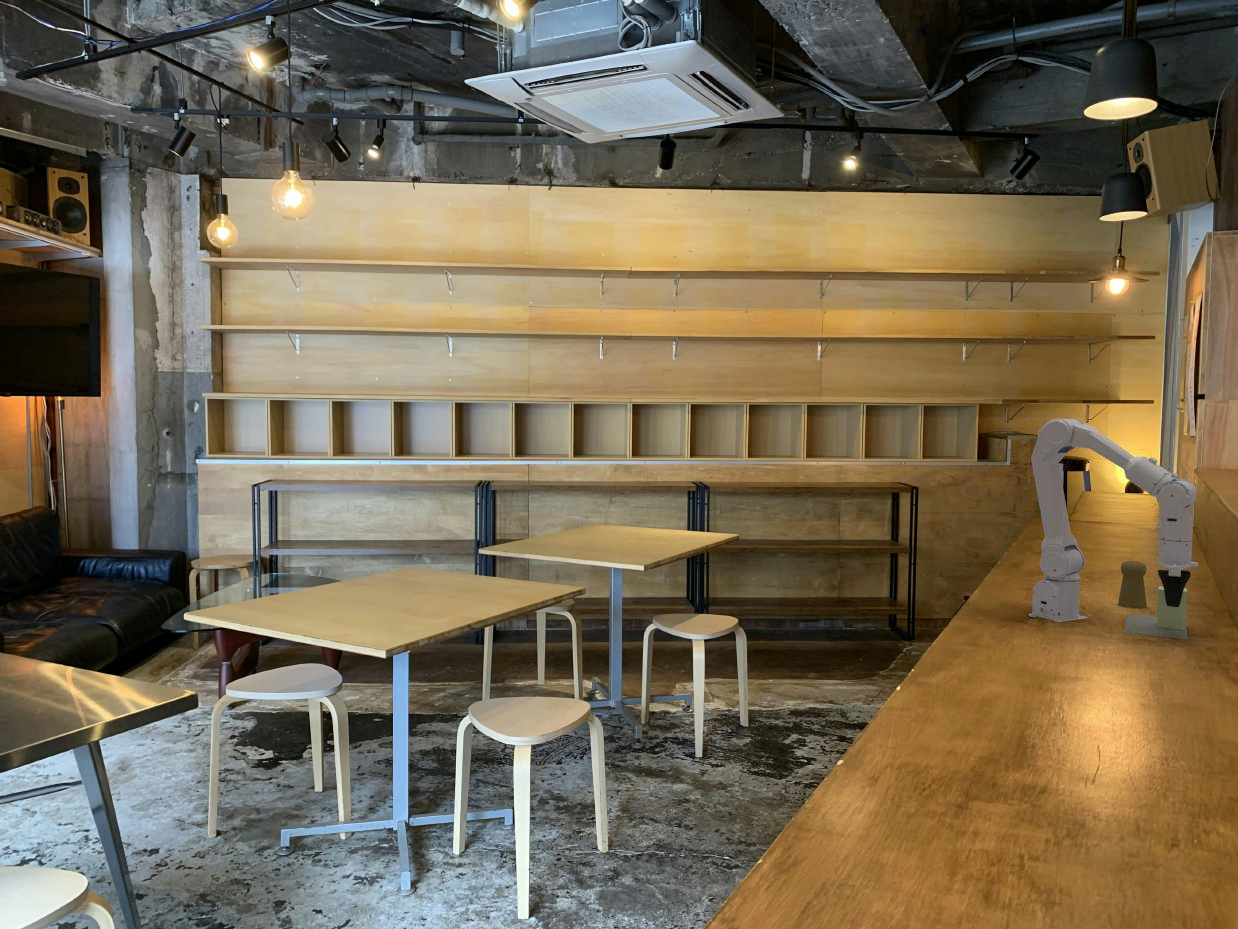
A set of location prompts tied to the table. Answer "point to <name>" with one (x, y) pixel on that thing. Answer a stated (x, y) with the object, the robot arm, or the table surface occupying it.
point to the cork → (1133, 585)
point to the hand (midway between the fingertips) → (1172, 606)
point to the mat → (1151, 627)
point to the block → (1171, 612)
